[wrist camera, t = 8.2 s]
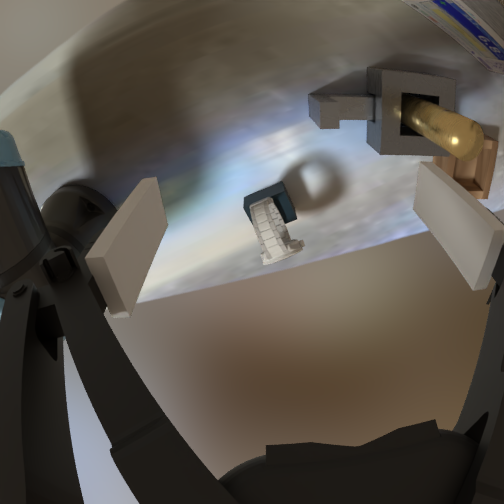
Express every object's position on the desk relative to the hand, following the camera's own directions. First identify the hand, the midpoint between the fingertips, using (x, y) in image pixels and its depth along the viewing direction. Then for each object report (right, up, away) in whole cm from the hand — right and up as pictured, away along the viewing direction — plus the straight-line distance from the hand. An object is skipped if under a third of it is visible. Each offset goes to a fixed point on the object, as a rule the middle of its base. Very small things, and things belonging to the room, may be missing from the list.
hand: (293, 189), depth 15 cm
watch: (0, +4, +28) cm, 28 cm away
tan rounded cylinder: (+17, +16, +19) cm, 30 cm away
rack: (+28, +11, +23) cm, 38 cm away
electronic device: (+25, +28, +11) cm, 39 cm away
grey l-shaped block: (+10, +15, +20) cm, 27 cm away
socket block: (+17, +16, +19) cm, 30 cm away
